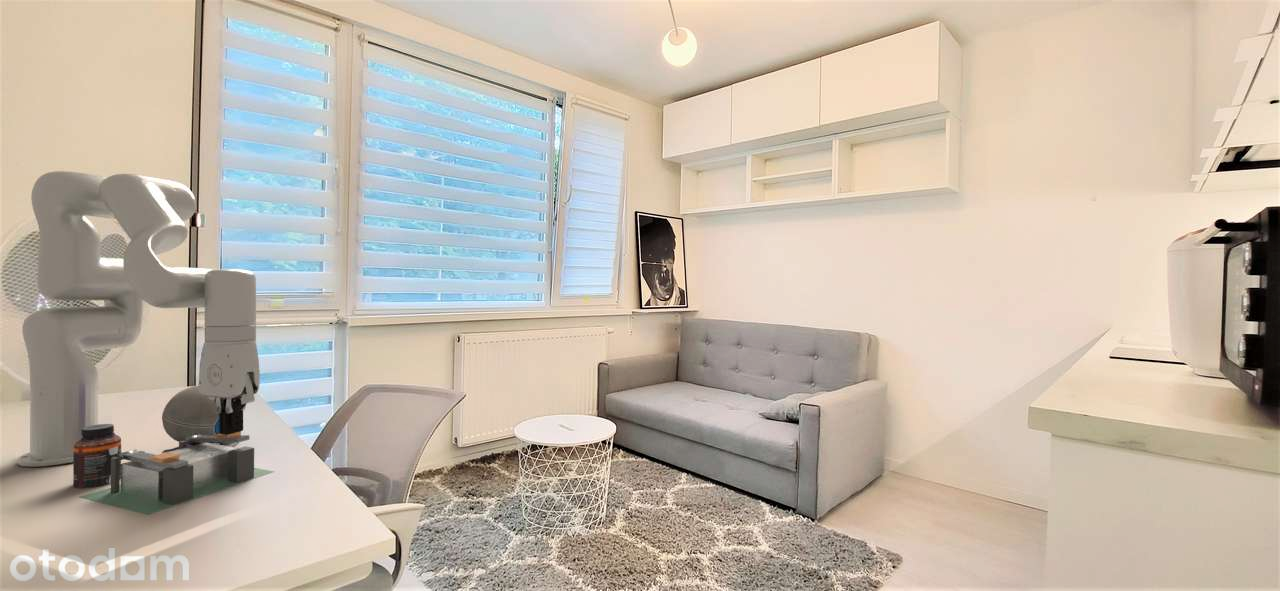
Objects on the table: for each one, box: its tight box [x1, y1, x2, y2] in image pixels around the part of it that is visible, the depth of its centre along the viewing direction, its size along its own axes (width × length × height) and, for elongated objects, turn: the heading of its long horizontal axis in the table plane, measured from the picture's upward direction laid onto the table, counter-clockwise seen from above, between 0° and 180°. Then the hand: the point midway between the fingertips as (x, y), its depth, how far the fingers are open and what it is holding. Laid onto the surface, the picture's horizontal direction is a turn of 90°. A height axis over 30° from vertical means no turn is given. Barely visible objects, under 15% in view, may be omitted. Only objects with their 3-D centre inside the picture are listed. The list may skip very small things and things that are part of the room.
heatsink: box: [120, 442, 239, 502], centre depth 92 cm, size 10×13×5 cm
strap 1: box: [118, 448, 188, 470], centre depth 87 cm, size 15×2×2 cm, turn 72°
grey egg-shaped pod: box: [161, 384, 240, 454], centre depth 112 cm, size 13×13×15 cm
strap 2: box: [185, 431, 250, 444], centre depth 97 cm, size 15×2×2 cm, turn 72°
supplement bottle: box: [72, 423, 122, 489], centre depth 92 cm, size 6×6×11 cm
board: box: [79, 441, 275, 515], centre depth 92 cm, size 18×20×7 cm
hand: (231, 432), depth 96 cm, fingers closed
